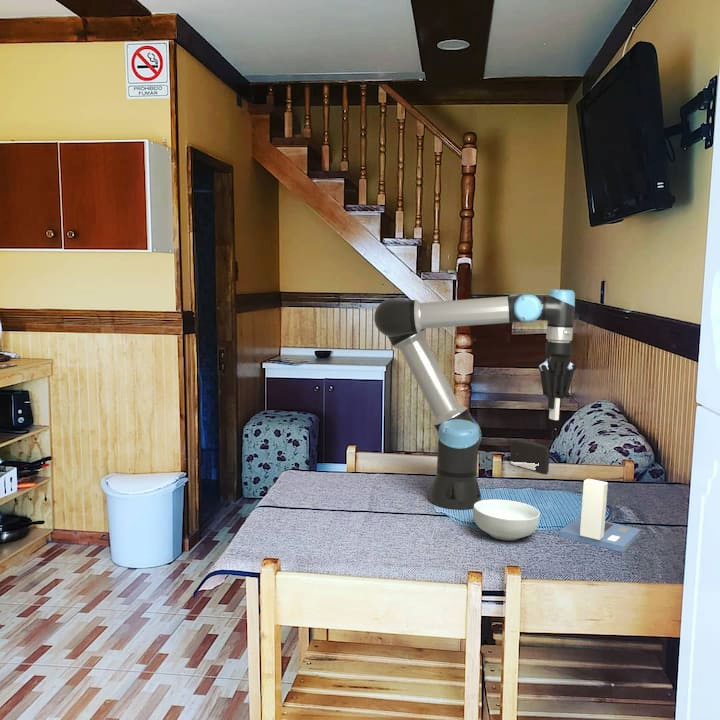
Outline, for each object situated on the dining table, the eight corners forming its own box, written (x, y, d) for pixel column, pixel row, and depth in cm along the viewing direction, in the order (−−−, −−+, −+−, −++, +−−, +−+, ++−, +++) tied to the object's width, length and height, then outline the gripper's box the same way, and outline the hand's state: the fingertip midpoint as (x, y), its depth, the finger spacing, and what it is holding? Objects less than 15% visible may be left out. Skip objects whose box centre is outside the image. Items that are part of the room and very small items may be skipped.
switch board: (580, 520, 188) (580, 515, 188) (640, 535, 178) (641, 529, 178) (558, 536, 175) (559, 530, 175) (622, 552, 166) (623, 546, 165)
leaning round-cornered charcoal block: (553, 473, 238) (555, 446, 237) (546, 475, 235) (547, 448, 234) (516, 463, 250) (517, 438, 249) (508, 464, 247) (509, 439, 246)
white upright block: (583, 532, 174) (587, 478, 172) (603, 536, 171) (607, 482, 169) (579, 535, 171) (583, 480, 170) (599, 540, 168) (604, 484, 167)
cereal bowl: (548, 547, 167) (550, 519, 166) (481, 547, 165) (483, 519, 165) (525, 524, 184) (527, 498, 183) (465, 523, 182) (466, 497, 182)
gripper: (549, 342, 197) (544, 422, 200) (585, 342, 202) (579, 420, 205) (533, 340, 204) (528, 417, 207) (568, 340, 209) (562, 416, 212)
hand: (553, 419), depth 206 cm, fingers closed
